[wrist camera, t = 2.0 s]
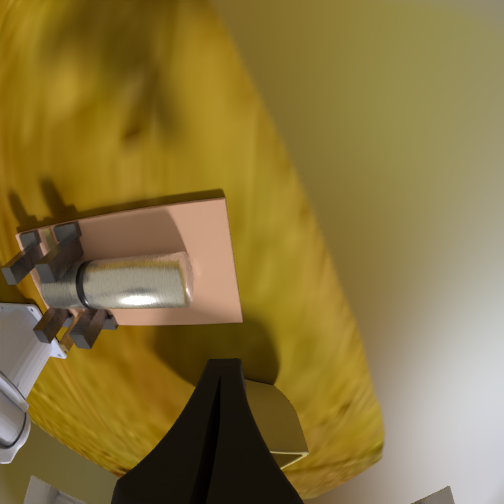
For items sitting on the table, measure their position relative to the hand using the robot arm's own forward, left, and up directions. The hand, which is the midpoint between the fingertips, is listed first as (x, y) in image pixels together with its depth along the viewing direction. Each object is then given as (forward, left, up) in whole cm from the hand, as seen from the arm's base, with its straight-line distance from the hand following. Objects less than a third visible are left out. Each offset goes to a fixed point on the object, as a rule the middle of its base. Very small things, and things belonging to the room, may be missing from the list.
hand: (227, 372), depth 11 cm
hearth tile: (-10, 0, -9) cm, 14 cm away
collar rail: (-15, 0, -9) cm, 18 cm away
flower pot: (-1, -16, -10) cm, 19 cm away
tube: (-9, 0, -9) cm, 13 cm away
